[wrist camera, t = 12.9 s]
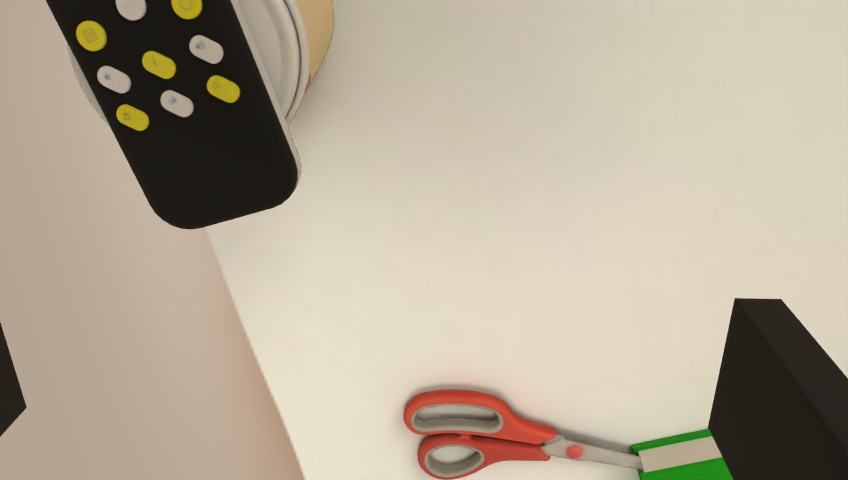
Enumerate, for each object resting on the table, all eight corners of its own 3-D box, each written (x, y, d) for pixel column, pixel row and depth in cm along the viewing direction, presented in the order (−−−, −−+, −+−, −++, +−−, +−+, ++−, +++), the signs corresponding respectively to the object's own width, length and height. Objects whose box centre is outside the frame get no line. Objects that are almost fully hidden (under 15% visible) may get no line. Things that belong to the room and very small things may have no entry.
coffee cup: (211, 115, 39) (116, 191, 29) (150, -59, 36) (13, -48, 25) (368, 82, 38) (331, 148, 27) (322, -102, 34) (258, -110, 23)
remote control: (179, 224, 29) (160, 244, 27) (20, -98, 24) (-16, -99, 22) (315, 185, 28) (305, 204, 26) (179, -160, 23) (154, -166, 21)
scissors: (705, 480, 48) (711, 496, 47) (407, 468, 50) (405, 483, 49) (722, 392, 45) (729, 406, 44) (403, 383, 47) (401, 396, 45)
